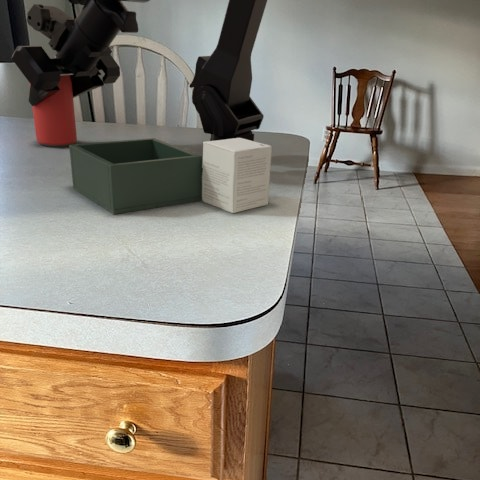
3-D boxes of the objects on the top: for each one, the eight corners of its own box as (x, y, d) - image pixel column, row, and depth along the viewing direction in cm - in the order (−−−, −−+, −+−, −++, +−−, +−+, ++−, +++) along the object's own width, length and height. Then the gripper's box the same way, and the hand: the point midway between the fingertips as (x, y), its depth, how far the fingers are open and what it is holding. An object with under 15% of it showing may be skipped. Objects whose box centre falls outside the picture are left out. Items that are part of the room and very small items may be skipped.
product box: (237, 194, 72) (240, 136, 68) (269, 205, 68) (274, 145, 64) (200, 201, 68) (201, 141, 64) (232, 214, 64) (235, 150, 61)
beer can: (70, 148, 90) (63, 69, 84) (31, 146, 90) (20, 67, 84) (81, 141, 96) (75, 66, 90) (44, 138, 96) (35, 64, 90)
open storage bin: (201, 200, 68) (202, 156, 66) (113, 214, 62) (110, 165, 59) (155, 178, 77) (154, 137, 74) (73, 188, 70) (68, 144, 67)
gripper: (101, -11, 88) (56, 59, 97) (10, -21, 73) (-32, 63, 82) (143, 47, 88) (95, 111, 98) (62, 49, 74) (14, 124, 83)
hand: (46, 101), depth 90 cm, fingers closed on beer can, 6 cm apart
